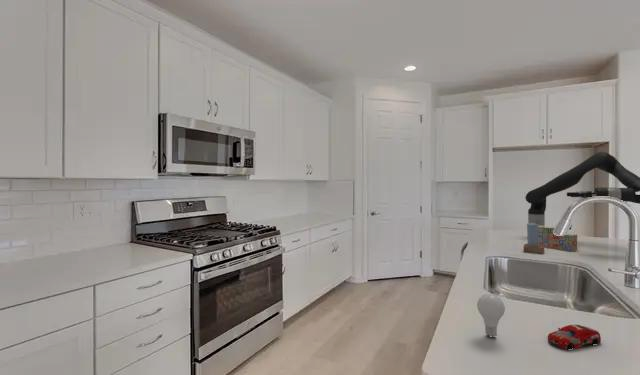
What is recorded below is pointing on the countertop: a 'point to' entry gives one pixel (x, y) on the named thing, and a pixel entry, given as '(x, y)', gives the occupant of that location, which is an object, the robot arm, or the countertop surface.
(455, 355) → the countertop surface
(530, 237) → the pillar block
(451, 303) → the countertop surface
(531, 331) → the countertop surface
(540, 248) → the base block
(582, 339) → the race car
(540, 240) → the stack of blocks
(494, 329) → the lightbulb
